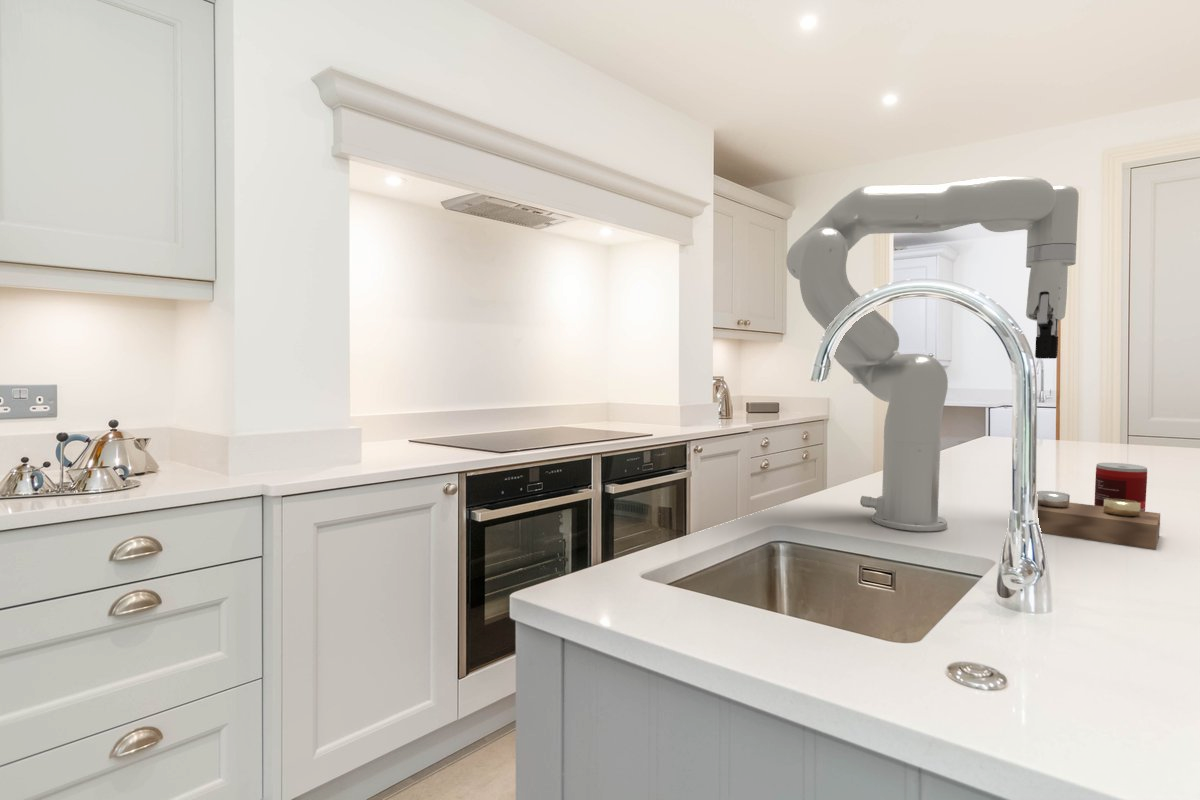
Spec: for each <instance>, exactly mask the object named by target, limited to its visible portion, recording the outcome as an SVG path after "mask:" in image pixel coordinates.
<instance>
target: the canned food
mask: <svg viewBox="0 0 1200 800" xmlns="http://www.w3.org/2000/svg"><path fill="white" fill-rule="evenodd" d="M1094 483H1095V484H1094V485H1095V486H1094V503H1093V505H1095V506H1103V507H1104V499H1108V498H1113V499H1125V500H1132V501H1136V502H1139V503H1140V511H1145V512H1146V504H1147V503H1146V501H1147V486H1148V485H1147V484H1148V467H1147V466H1143V465H1139V464H1132V463H1123V462H1122V463H1120V462H1098V463H1096V467H1095V482H1094Z"/></svg>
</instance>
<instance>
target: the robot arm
mask: <svg viewBox="0 0 1200 800" xmlns="http://www.w3.org/2000/svg"><path fill="white" fill-rule="evenodd" d="M1079 198H1080V196H1079V192H1078V190H1077V188H1076V187H1073V186H1071V185H1070V186H1069V185H1056V186H1055V185H1054V186H1052V184H1051V183H1050V182H1049V181H1047V180H1045V179H1043V178H1042V177H1041V178H1040V177H1036V176H997V177H996V176H995V177H985V178H983V177H982V178H978V179H977V178H976V179H969V180H962V181H951V182H945V183H935V184H933V183H932V184H877V185H876V184H872V185H864V186H861V187H858V188H856V189H854V190H853V191H851V192H850V193H848V194H847V195H846V196H844V197H843V198H841V199H840V200H839V201H837V203H835V204H834V205H833V206H832V207H831V208H830V209H829V210H828V211H827V212H826V213H825V214H824V215H823V216H822V217H821V218H820V219H819V220H818V221H817V222H816V223H814V224H813V225H812V226H811V227H810V228H809V229H808V230H807V231H806V232H805V233H803V235H801V236H800V238H798V239H797V240H796V241H795V242H794V243H793V244H791V246H790V248H789V250H788V251H787V254H786V259H785V260H786V262H785V263H786V267H787V268H786V269H787V270H788V272H789V273H790V275H791V276H792V277H793V278H794V279H797V280H799V288H800V289H799V290H800V295H801V298H802V302H803V303H804V306H805V308H806V310H807V311H808V313H809V314H810V315H811V317H812V318H813V319H814V320H815V321H816V322H817V323H818V324H819V325H820V326H821V327H822V328H823V330H824V331H826V329H827V327H828V326H829V324H830V323H831V322H832V321H833V320H834V318H835V317H836V316H837V315H838V314H839V313H840V312H841V311H842V310H843V309H844V308H845V307H846V306H847V305H849V304H850V303H851V302H852V301H854V300H855V299H856V298H858V297H860V296H861V295H860V293H858V292H857V291H856V290H855V288H853V286H852V285H851V283H850V281H849V279H848V275H847V261H848V260H847V259H848V255H849V251H850V250H851V249H852V248H853V247H854V246H855V245H856V244H858V243H859V242H860V241H861V239H863V238H864V237H866V236H868V235H873V234H878V235H879V234H930V233H931V234H932V233H938V232H944V231H945V232H946V231H949V230H952V229H955V228H961V227H963V226H968V225H973V224H978V223H979V225H981V226H982V228H984V229H985V230H988V231H989V232H993V233H1007V232H1013V231H1024V230H1025V231H1026V232H1027V233H1026V234H1027V235H1026V253H1025V254H1026V257H1025V267H1026V268H1028V269H1030V271H1029V279H1028V287H1027V297H1026V298H1027V299H1026V308H1025V309H1026V311H1025V316H1026V318H1027V319H1029V320H1032V321H1035V322H1036V336H1035V351H1034V352H1035V353H1034V354H1035V355H1034V356H1035V359H1057V358H1058V350H1059V348H1058V347H1059V336H1058V333H1059V321H1061V320H1063V319H1064V318H1065V316H1066V309H1067V296H1068V274H1069V273H1068V271H1069V269H1068V268H1069V267H1070V266H1071V267H1072V266H1074V265H1076V263H1077V262H1076V259H1077V242H1078V241H1077V240H1078V238H1077V237H1078V215H1079ZM899 347H900V336H899V333H898V332H897V330H896V328H895V327H894V326H893V325H892V324H891V322H889V321H888V320H887V319H886V318H885V317H884V316H882V315H881V314H880V312H878V311H877V310H876V309H875V310H874V311H872V312H870V313H868V314H866V315H864V316H863V317H861V318H860V319H859V320H858V321H856V322H855V323H854V324H853V325H852V327H851V328H850V329H849V330H848V331H847V332H846V333H845V335H844V336H843V338H842V340H841V341H840V343H839V345H838V347H837V349H836V352H835V355H834V356H833V358H834V359H835V360H836V361H837V363H838V364H839V365H840V366H841V367H842V368H843V369H844V370H845V371H847V373H849V374H850V375H851V376H852V377H853V378H854V379H855V380H856V381H857V382H858V383H860V385H862V386H863V387H864V388H865V389H866V390H867V391H868V392H869V393H871V394H872V395H873V396H874V397H876V398H877V399H879V400H881V401H883V402H887V403H888V407H887V409H886V414H885V419H884V426H883V456H882V457H883V459H882V460H883V461H882V462H883V463H882V464H883V465H882V489H881V490H882V491H881V495H880V496H877V497H872V496H869V495H868V496H867V495H861V497H860V500H859V501H860V502H859V504H860V505H861V506H862V508H871V509H873V510H875V511H876V512H874V513H872V521H873V522H874V523H876V524H878V525H880V526H883V527H887V528H891V529H895V530H903V531H912V532H913V531H914V532H937V531H938V532H939V531H943V530H945V529H947V528H948V521H947V520H946V519H944V518H943V517H941V516H938V515H939V492H940V465H941V463H940V462H941V436H942V419H943V412H944V407H945V402H946V399H947V393H948V388H949V387H948V386H949V385H948V384H949V381H948V375H947V374H948V373H947V371H946V369H945V367H944V366H943V365H942V363H941V362H940V361H938V360H937V359H936V358H934V357H932V356H930V355H927V354H924V353H900V352H899V351H898V350H899Z"/></svg>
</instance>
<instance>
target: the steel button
mask: <svg viewBox="0 0 1200 800" xmlns="http://www.w3.org/2000/svg"><path fill="white" fill-rule="evenodd" d="M1037 494H1038V504H1040V505H1044V507H1052V508H1060V509H1061V507H1069V502H1070V496H1071V495H1070V494H1069V493H1065V492H1063V491H1062V492H1061V491H1054V490H1053V491H1052V490H1037V491H1036V495H1037Z"/></svg>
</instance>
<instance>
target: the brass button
mask: <svg viewBox="0 0 1200 800" xmlns="http://www.w3.org/2000/svg"><path fill="white" fill-rule="evenodd" d="M1103 511H1104V512H1107V513H1111V514H1112V515H1116V516H1124V517H1131V516H1139V515H1140V503H1139V502H1136V501H1132V500H1125V499H1113V498H1108V499H1104V509H1103Z"/></svg>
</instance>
